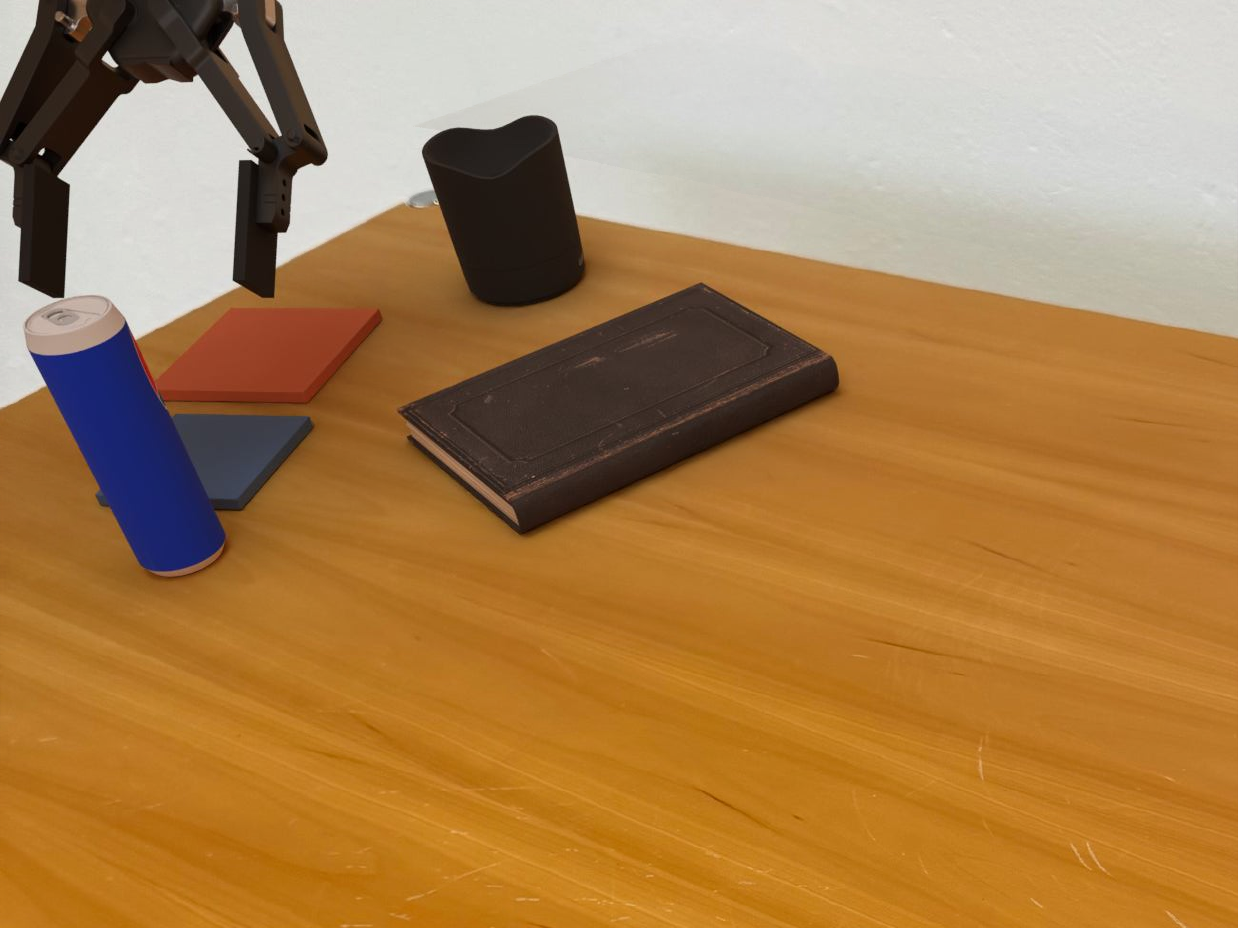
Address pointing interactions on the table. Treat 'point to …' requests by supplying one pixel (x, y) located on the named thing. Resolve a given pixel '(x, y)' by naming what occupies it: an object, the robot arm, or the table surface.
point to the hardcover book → (615, 403)
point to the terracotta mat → (267, 354)
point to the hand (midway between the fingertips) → (145, 290)
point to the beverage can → (125, 433)
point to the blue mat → (236, 452)
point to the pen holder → (508, 209)
